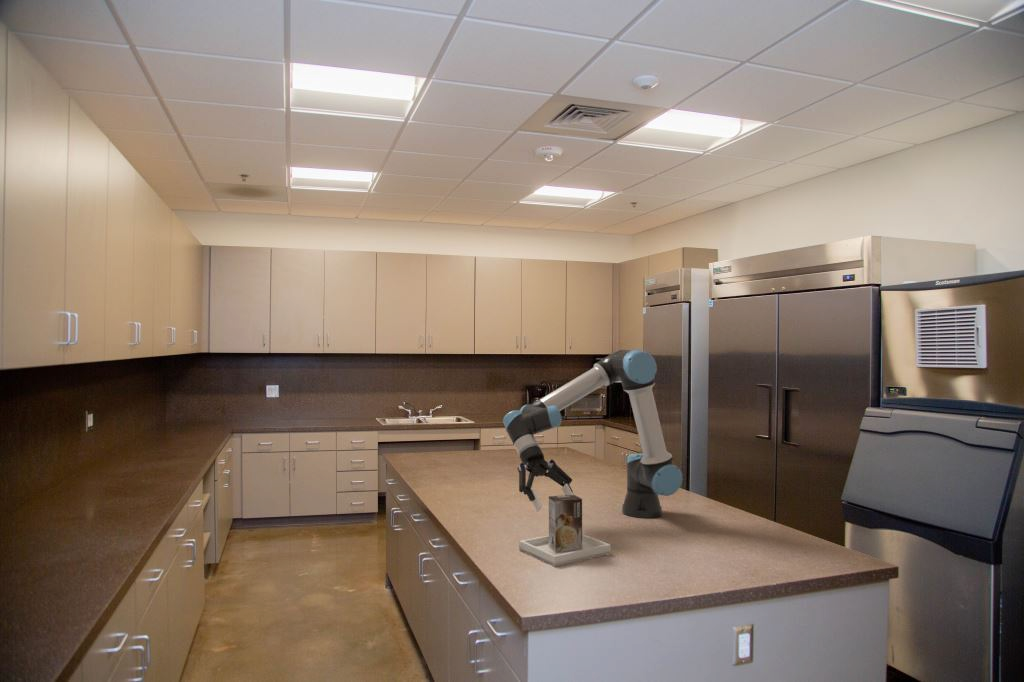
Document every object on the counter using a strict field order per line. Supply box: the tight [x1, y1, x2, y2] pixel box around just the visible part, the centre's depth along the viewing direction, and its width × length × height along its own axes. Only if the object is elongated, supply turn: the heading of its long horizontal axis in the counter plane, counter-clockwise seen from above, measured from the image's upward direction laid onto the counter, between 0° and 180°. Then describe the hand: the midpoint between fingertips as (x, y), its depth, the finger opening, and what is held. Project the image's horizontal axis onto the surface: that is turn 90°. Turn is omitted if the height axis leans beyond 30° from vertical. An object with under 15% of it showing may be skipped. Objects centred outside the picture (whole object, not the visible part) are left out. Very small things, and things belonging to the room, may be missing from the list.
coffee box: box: [548, 494, 583, 553], centre depth 205 cm, size 9×6×16 cm
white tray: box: [518, 533, 612, 568], centre depth 205 cm, size 18×22×3 cm
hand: (556, 506), depth 207 cm, fingers open, 13 cm apart
